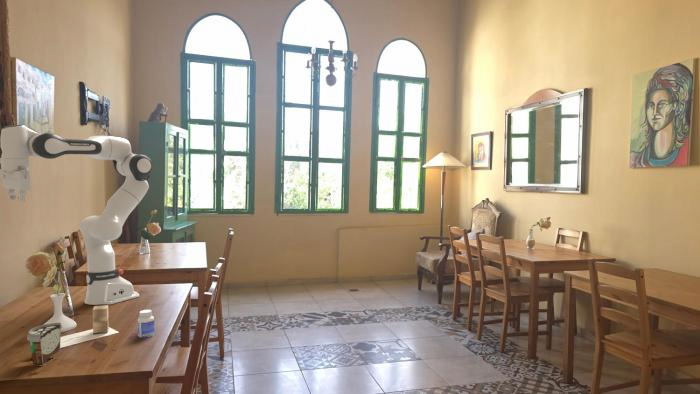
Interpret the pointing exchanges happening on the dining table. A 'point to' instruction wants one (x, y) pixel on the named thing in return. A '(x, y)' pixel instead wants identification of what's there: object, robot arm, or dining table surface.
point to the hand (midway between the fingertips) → (17, 200)
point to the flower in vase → (58, 304)
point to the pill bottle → (146, 324)
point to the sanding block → (100, 319)
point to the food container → (44, 342)
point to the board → (83, 337)
